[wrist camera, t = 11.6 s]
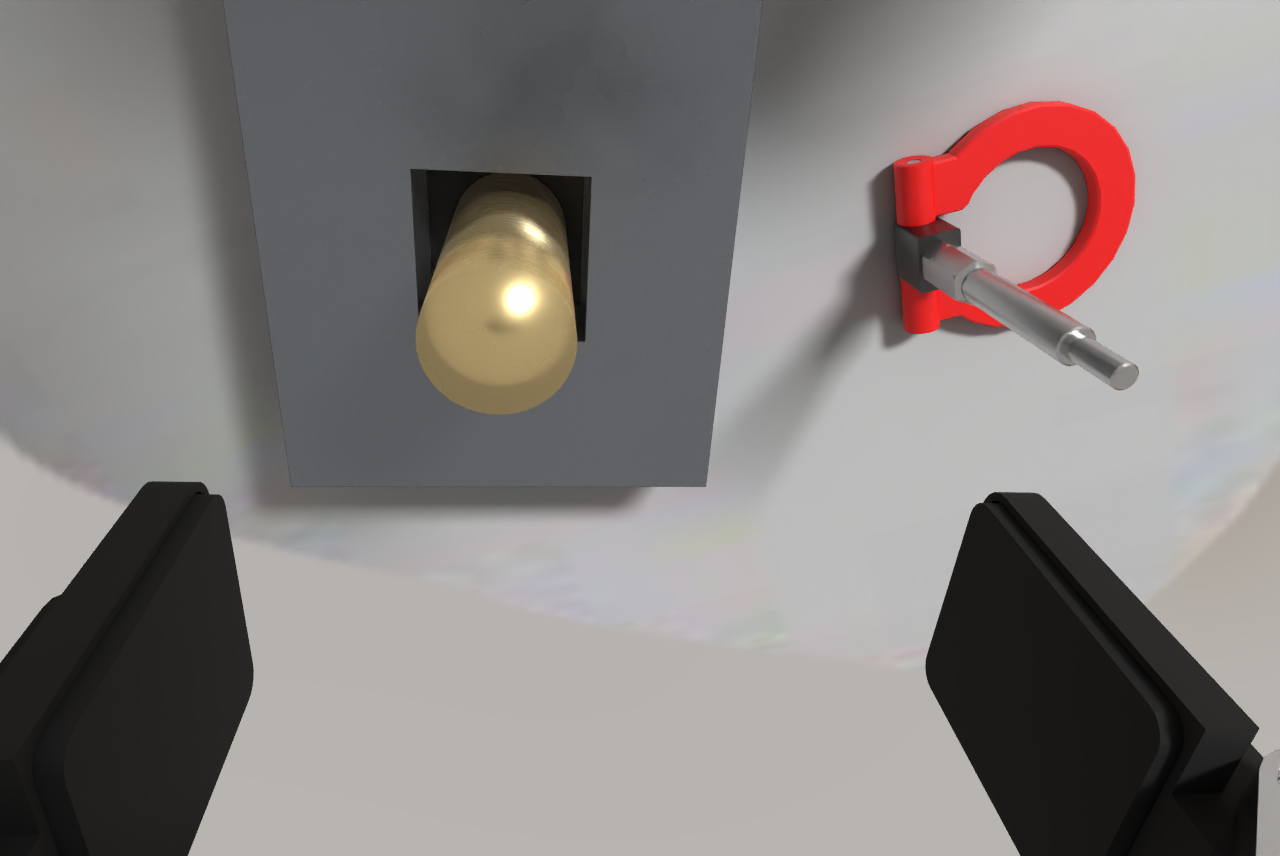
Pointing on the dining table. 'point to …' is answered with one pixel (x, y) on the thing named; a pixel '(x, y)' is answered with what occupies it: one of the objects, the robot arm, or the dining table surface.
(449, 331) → the brass pin
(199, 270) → the dining table surface
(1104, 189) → the tow hook
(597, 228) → the grey block with hole
